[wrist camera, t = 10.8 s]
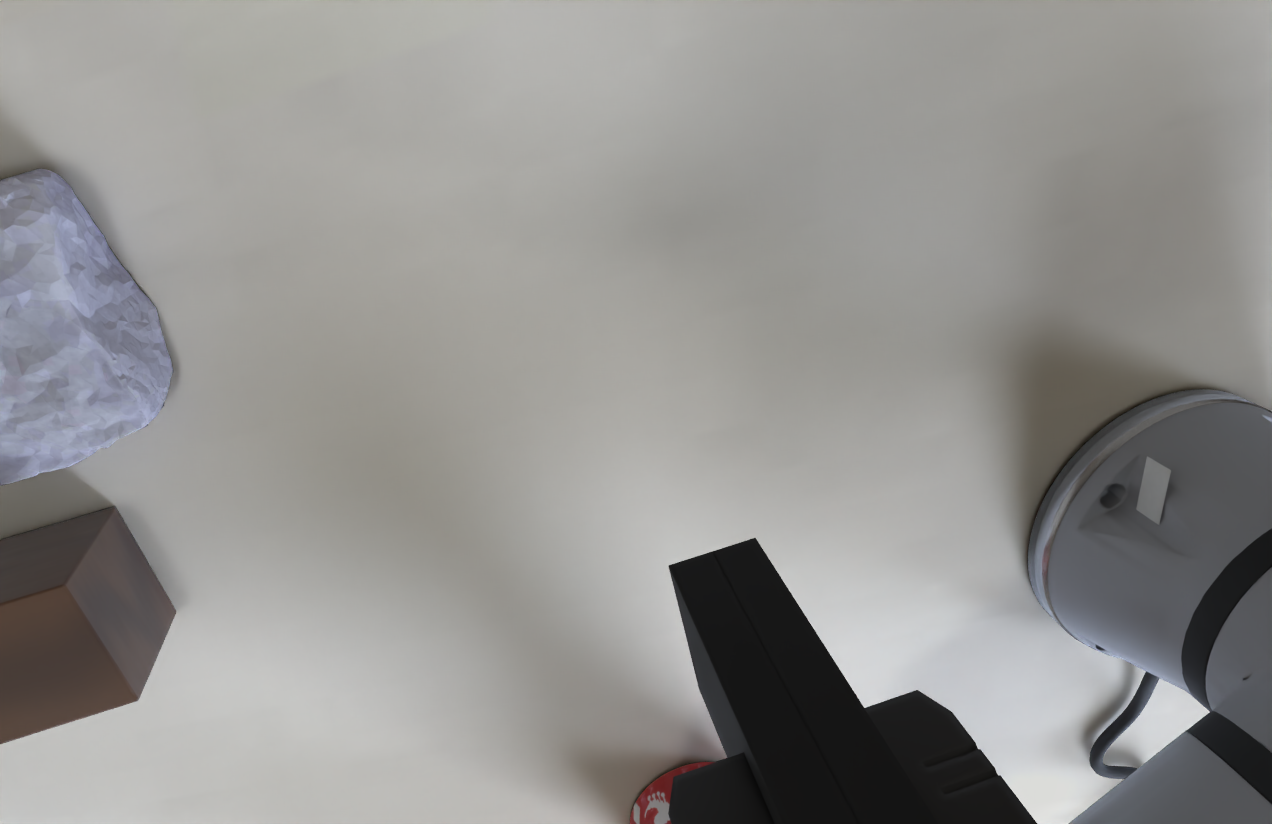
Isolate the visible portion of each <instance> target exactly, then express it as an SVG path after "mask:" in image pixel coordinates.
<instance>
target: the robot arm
mask: <svg viewBox="0 0 1272 824" xmlns="http://www.w3.org/2000/svg"><path fill="white" fill-rule="evenodd" d="M669 569H670V573H671V577H672V581H673V585H674V589H675V593H676V597H677V601H678V606H679V610H680V614H681V618H682V622H683V626H684V630H685V634H686V638H687V642H688V646H689V650H690V654H691V658H692V662H693V666H694V670H695V674H696V678H697V682H698V686H699V689H700V692H701V694H702V697H703V699H704V702H705V704H706V707H707V709H708V711H709V714H710V716H711V719H712V721H713V724H714V726H715V729H716V731H717V733H718V736H719V738H720V741H721V743H722V746H723V748H724V751H725V753H726V755H727V758H726V759H723V760H720V761H717V762H714V763H711V764H709V765H706V766H703V767H700V768H697V769H694V770H691V771H688V772H685V773H682V774H680V775H677V776H674V777H673V783H672V790H671V797H670V804H669V811H668V815H669V818H670V821H671V824H1037V823H1036V822H1035V820H1034V819H1033V818H1032V816H1031V815H1030V814H1029V812H1028V811H1027V810H1026V808H1025V807H1024V806H1023V805H1022V803H1021V802H1020V801H1019V799H1018V798H1017V797H1016V795H1015V794H1014V793H1013V791H1012V790H1011V789H1010V788H1009V786H1008V785H1007V784H1006V782H1005V781H1004V780H1003V778H1002V777H1001V776H998V775H997V773H996V770H995V768H994V767H993V765H992V764H991V763H990V761H989V760H988V759H987V757H986V756H985V755H984V753H983V752H982V751H981V750H980V749H978V748H977V746H976V743H975V742H974V740H973V739H972V738H971V736H970V735H969V734H968V733H967V731H966V730H965V729H964V727H963V726H962V725H961V723H960V722H959V721H958V719H957V718H956V717H955V716H954V714H953V713H952V712H951V711H949V710H948V709H946V708H945V707H943V706H942V705H940V704H939V703H937V702H935V701H934V700H932V699H931V698H929V697H928V696H926V695H924V694H923V693H921V692H920V691H918V690H916V691H913V692H910V693H907V694H904V695H901V696H898V697H896V698H893V699H890V700H887V701H884V702H881V703H878V704H875V705H872V706H870V707H867V708H864V707H863V705H862V704H861V702H860V701H859V699H858V698H857V696H856V694H855V693H854V691H853V690H852V688H851V687H850V685H849V684H848V682H847V680H846V679H845V677H844V676H843V674H842V673H841V671H840V669H839V668H838V666H837V665H836V663H835V662H834V660H833V659H832V657H831V655H830V654H829V652H828V651H827V649H826V648H825V646H824V644H823V643H822V641H821V640H820V638H819V637H818V635H817V634H816V632H815V630H814V629H813V627H812V626H811V624H810V623H809V621H808V619H807V618H806V616H805V615H804V613H803V612H802V610H801V609H800V607H799V605H798V604H797V602H796V601H795V599H794V598H793V596H792V594H791V593H790V591H789V590H788V588H787V587H786V585H785V584H784V582H783V580H782V579H781V577H780V576H779V574H778V573H777V571H776V569H775V568H774V566H773V565H772V563H771V562H770V560H769V559H768V557H767V555H766V554H765V552H764V551H763V549H762V548H761V546H760V544H759V543H758V541H757V540H756V538H754V539H750V540H747V541H744V542H741V543H738V544H735V545H732V546H728V547H725V548H722V549H719V550H716V551H713V552H710V553H707V554H703V555H700V556H697V557H694V558H691V559H688V560H685V561H682V562H678V563H675V564H672V565H669ZM1028 571H1029V577H1030V582H1031V586H1032V589H1033V592H1034V594H1035V596H1036V598H1037V600H1038V602H1039V603H1040V605H1041V606H1042V607H1043V609H1044V610H1045V611H1046V612H1047V613H1048V614H1049V615H1050V616H1051V617H1052V618H1053V619H1054V620H1055V621H1056V622H1057V623H1058V624H1059V625H1060V626H1061V627H1062V628H1063V629H1064V630H1065V631H1067V632H1068V633H1069V634H1070V635H1071V636H1072V637H1074V638H1075V639H1076V640H1078V641H1080V642H1082V643H1083V644H1085V645H1087V646H1089V647H1091V648H1093V649H1095V650H1097V651H1100V652H1102V653H1104V654H1107V655H1109V656H1113V657H1117V658H1121V659H1123V660H1125V661H1127V662H1129V663H1131V664H1133V665H1135V666H1137V667H1139V668H1141V669H1143V670H1145V671H1146V673H1145V675H1144V677H1143V679H1142V681H1141V684H1140V686H1139V688H1138V690H1137V692H1136V694H1135V696H1134V697H1133V699H1132V701H1131V702H1130V704H1129V705H1128V707H1127V708H1126V709H1125V710H1124V711H1123V713H1122V714H1121V715H1120V716H1119V717H1118V718H1117V719H1116V720H1115V721H1114V722H1113V723H1112V724H1111V725H1110V726H1109V727H1108V728H1107V729H1106V730H1105V731H1104V732H1103V733H1102V734H1101V735H1100V736H1099V737H1098V739H1097V740H1096V741H1095V743H1094V745H1093V747H1092V749H1091V752H1090V764H1091V767H1092V768H1093V770H1094V771H1095V772H1096V773H1097V774H1099V775H1101V776H1104V777H1108V778H1114V779H1124V780H1123V781H1122V782H1121V783H1119V784H1118V785H1117V786H1115V787H1114V788H1113V789H1112V790H1110V791H1109V792H1108V793H1107V794H1105V795H1104V796H1103V797H1102V798H1100V799H1099V800H1098V801H1097V802H1095V803H1094V804H1093V805H1091V806H1090V807H1089V808H1088V809H1086V810H1085V811H1084V812H1083V813H1081V814H1080V815H1079V816H1078V817H1076V818H1075V819H1074V820H1073V821H1071V822H1070V823H1069V824H1272V411H1270V410H1268V409H1266V408H1263V407H1261V406H1259V405H1257V404H1255V403H1252V402H1250V401H1248V400H1246V399H1244V398H1241V397H1239V396H1237V395H1235V394H1231V393H1228V392H1225V391H1219V390H1209V389H1197V390H1187V391H1181V392H1175V393H1172V394H1168V395H1164V396H1161V397H1158V398H1156V399H1153V400H1150V401H1148V402H1146V403H1144V404H1141V405H1139V406H1137V407H1135V408H1133V409H1132V410H1130V411H1128V412H1126V413H1124V414H1123V415H1121V416H1120V417H1118V418H1117V419H1115V420H1114V421H1112V422H1111V423H1109V424H1108V425H1107V426H1105V427H1104V428H1103V429H1101V430H1100V431H1099V432H1098V433H1097V434H1095V435H1094V436H1093V437H1092V438H1091V439H1090V440H1089V441H1087V442H1086V443H1085V444H1084V445H1083V446H1082V447H1081V448H1080V449H1079V451H1078V452H1077V453H1076V454H1075V455H1074V456H1073V457H1072V458H1071V459H1070V461H1069V462H1068V463H1067V464H1066V465H1065V467H1064V468H1063V469H1062V471H1061V472H1060V473H1059V475H1058V476H1057V478H1056V479H1055V481H1054V482H1053V484H1052V486H1051V487H1050V489H1049V491H1048V492H1047V494H1046V496H1045V498H1044V500H1043V502H1042V504H1041V506H1040V509H1039V511H1038V513H1037V516H1036V519H1035V522H1034V525H1033V528H1032V532H1031V537H1030V542H1029V549H1028ZM1159 678H1161V679H1163V680H1165V681H1167V682H1169V683H1171V684H1173V685H1175V686H1177V687H1179V688H1181V689H1183V690H1185V691H1186V692H1188V693H1189V694H1190V695H1192V696H1193V697H1194V698H1195V699H1196V700H1197V701H1199V702H1200V703H1201V704H1202V705H1203V706H1204V707H1205V708H1207V709H1208V710H1209V711H1210V713H1208V714H1207V715H1206V716H1205V717H1203V718H1202V719H1201V720H1200V721H1198V722H1197V723H1196V724H1195V725H1193V726H1192V727H1191V728H1190V729H1188V730H1186V731H1185V732H1184V733H1182V734H1181V735H1180V736H1179V737H1177V738H1176V739H1175V740H1174V741H1172V742H1171V743H1170V744H1169V745H1167V746H1166V747H1165V748H1163V749H1162V750H1161V751H1160V752H1158V753H1157V754H1156V755H1155V756H1153V757H1152V758H1151V759H1150V760H1148V761H1147V762H1146V763H1145V764H1143V765H1142V766H1141V767H1139V768H1138V769H1137V768H1133V767H1121V766H1107V765H1105V764H1103V756H1104V754H1105V752H1106V750H1107V749H1108V748H1109V746H1110V745H1111V744H1112V743H1113V742H1114V741H1115V740H1116V739H1117V738H1118V737H1119V736H1120V735H1121V734H1122V733H1123V732H1124V731H1125V730H1126V729H1127V728H1128V727H1129V726H1130V725H1131V724H1132V723H1133V722H1134V721H1135V719H1136V718H1137V717H1138V716H1139V715H1140V713H1141V712H1142V710H1143V709H1144V707H1145V706H1146V704H1147V702H1148V700H1149V698H1150V697H1151V694H1152V692H1153V690H1154V688H1155V686H1156V684H1157V682H1158V680H1159Z"/></svg>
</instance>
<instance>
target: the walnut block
mask: <svg viewBox="0 0 1272 824" xmlns="http://www.w3.org/2000/svg"><path fill="white" fill-rule="evenodd" d="M175 614H176V610H175V608H174V606H173V605H172V603H171V601H170V599H169V598H168V596H167V594H166V593H165V591H164V589H163V587H162V586H161V584H160V582H159V581H158V579H157V577H156V575H155V574H154V572H153V570H152V569H151V567H150V565H149V563H148V562H147V560H146V558H145V557H144V555H143V553H142V551H141V550H140V548H139V546H138V544H137V543H136V541H135V539H134V538H133V536H132V534H131V532H130V531H129V529H128V527H127V526H126V524H125V522H124V520H123V519H122V517H121V515H120V514H119V512H118V510H117V508H116V507H112V508H108V509H105V510H101V511H98V512H95V513H91V514H88V515H84V516H81V517H77V518H74V519H71V520H67V521H64V522H60V523H57V524H53V525H50V526H47V527H43V528H40V529H36V530H33V531H29V532H26V533H23V534H19V535H16V536H12V537H9V538H5V539H2V540H0V744H2V743H6V742H9V741H12V740H15V739H18V738H21V737H25V736H28V735H31V734H34V733H37V732H40V731H44V730H47V729H50V728H53V727H56V726H59V725H63V724H66V723H69V722H72V721H75V720H78V719H82V718H85V717H88V716H91V715H94V714H98V713H101V712H104V711H107V710H110V709H113V708H117V707H120V706H123V705H126V704H129V703H132V702H136V701H138V700H139V698H140V695H141V693H142V691H143V689H144V686H145V684H146V682H147V679H148V677H149V675H150V672H151V670H152V668H153V665H154V663H155V661H156V658H157V656H158V654H159V651H160V649H161V647H162V644H163V642H164V640H165V637H166V635H167V633H168V630H169V628H170V626H171V624H172V621H173V619H174V617H175Z"/></svg>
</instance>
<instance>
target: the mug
mask: <svg viewBox="0 0 1272 824" xmlns="http://www.w3.org/2000/svg"><path fill="white" fill-rule="evenodd" d="M711 763H714V762H699V763H693V764H688V765H684V766H681V767H679V768H676V769H674V770H672V771H669V772H667V773H666V774H664V775H662V776H661V777H659V778H657V779H656V780H655V781H654V782H652V783H651V784H650V785H649V786H648V787H647V788H646V789H645V790H644V791H643V792H642V793H641V795H640V796H639V798H638V799H637V801H636V802H635V804H634V807H633V809H632V812H631V816H630V824H671V821H670V818H669V815H668V811H669V804H670V797H671V790H672V783H673V777H674V776H677V775H680V774H682V773H685V772H688V771H691V770H694V769H697V768H700V767H703V766H706V765H709V764H711Z"/></svg>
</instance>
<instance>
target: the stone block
mask: <svg viewBox="0 0 1272 824" xmlns="http://www.w3.org/2000/svg"><path fill="white" fill-rule="evenodd" d="M172 373H173V367H172V363H171V358H170V356H169V353H168V351H167V348H166V344H165V340H164V337H163V335H162V332H161V326H160V321H159V317H158V313H157V309H156V307H155V306H154V305H153V303H152V302H151V301H150V299H149V298H148V297H147V296H146V295H145V294H144V293H143V292H142V291H141V290H140V289H139V287H138V286H137V285H136V283H135V282H134V280H133V279H132V277H131V276H130V275H129V273H128V272H127V271H126V270H125V269H124V268H123V267H122V265H121V264H120V262H119V261H118V259H117V258H116V257H115V255H114V254H113V252H112V251H111V249H110V248H109V246H108V245H107V242H106V239H105V237H104V235H103V234H102V233H101V231H100V230H99V229H98V227H97V226H96V225H95V224H94V222H93V220H92V219H91V217H90V216H89V214H88V212H87V211H86V209H85V208H84V207H83V205H82V204H81V202H80V201H79V200H78V198H77V197H76V195H75V194H74V192H73V190H72V188H71V186H70V185H69V184H68V183H67V182H65V181H64V180H63V179H62V178H61V177H60V176H59V175H58V174H56V173H54V172H51V171H49V170H46V169H36V170H33V171H30V172H26V173H23V174H19V175H16V176H12V177H9V178H5V179H2V180H0V486H1V485H6V484H10V483H14V482H17V481H21V480H24V479H27V478H31V477H35V476H36V475H38V474H39V473H44V472H50V471H54V470H58V469H62V468H67V467H69V466H71V465H74V464H76V463H78V462H80V461H82V460H84V459H85V458H87V457H88V456H90V455H92V454H93V453H95V452H96V451H97V450H98V449H99V448H107V447H109V446H111V445H112V444H113V443H114V442H115V441H116V440H117V439H119V438H122V437H125V436H126V435H128V434H130V433H132V432H135V431H137V430H139V429H142V428H144V427H146V426H148V423H149V422H150V421H152V420H153V419H154V418H155V417H156V416H157V415H158V413H159V411H160V410H161V408H162V407H163V406H164V400H165V399H166V395H167V392H168V389H169V385H170V379H171V376H172Z"/></svg>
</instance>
